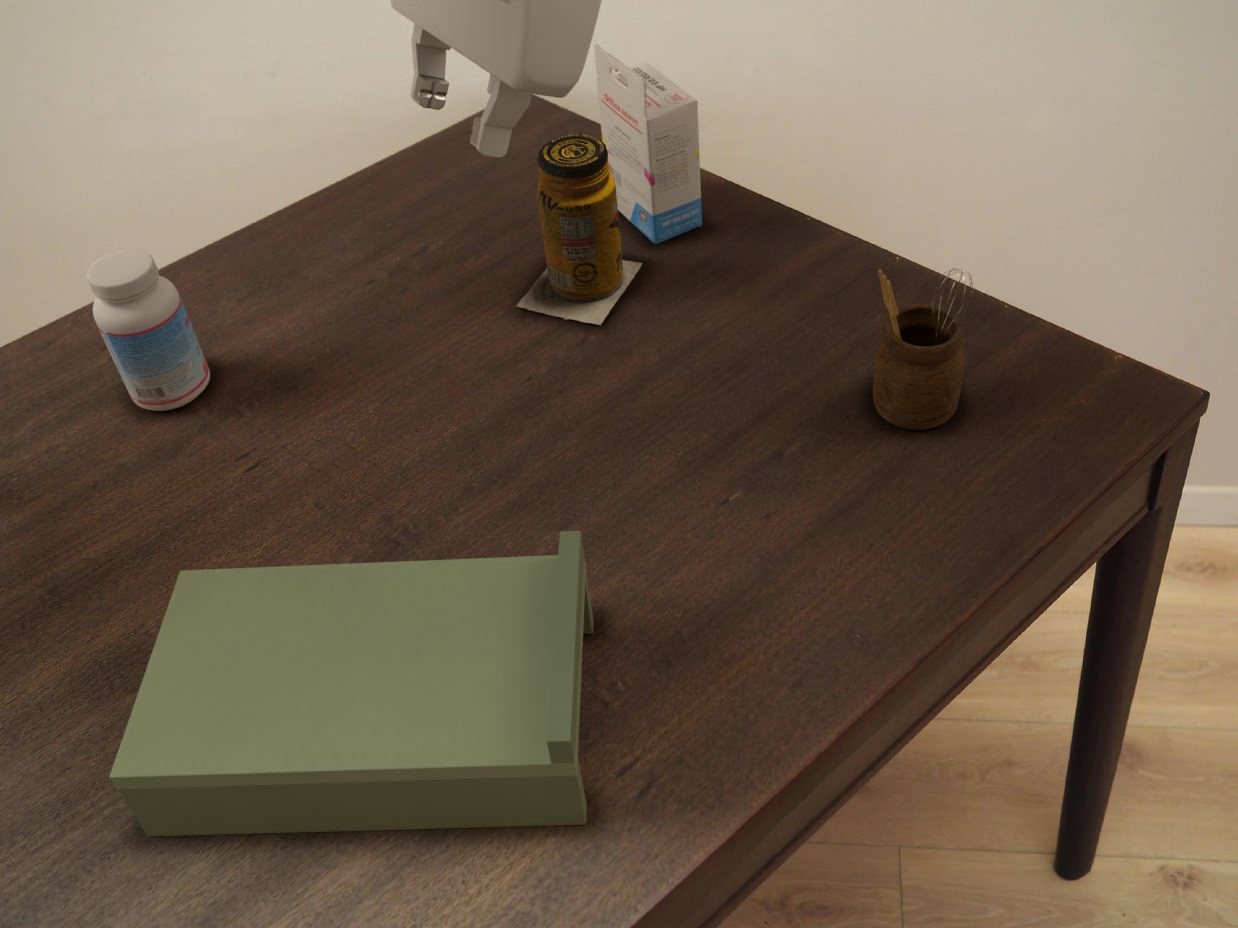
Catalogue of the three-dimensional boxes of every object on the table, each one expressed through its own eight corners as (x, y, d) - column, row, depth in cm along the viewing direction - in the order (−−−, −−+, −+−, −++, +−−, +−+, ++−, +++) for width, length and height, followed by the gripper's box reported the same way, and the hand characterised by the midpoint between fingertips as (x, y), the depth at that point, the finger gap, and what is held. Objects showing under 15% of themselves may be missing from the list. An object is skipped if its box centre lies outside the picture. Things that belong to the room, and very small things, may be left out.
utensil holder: (973, 420, 88) (996, 279, 79) (889, 443, 87) (903, 302, 78) (934, 369, 92) (952, 229, 83) (853, 390, 91) (863, 250, 82)
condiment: (642, 265, 104) (632, 133, 95) (600, 327, 98) (585, 193, 90) (562, 250, 106) (545, 120, 98) (516, 309, 101) (495, 177, 92)
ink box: (705, 226, 107) (699, 63, 97) (654, 246, 105) (643, 83, 95) (654, 182, 112) (643, 23, 102) (605, 201, 111) (589, 41, 101)
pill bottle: (228, 376, 97) (182, 254, 90) (170, 423, 94) (116, 302, 86) (173, 353, 100) (123, 233, 92) (114, 399, 96) (57, 278, 89)
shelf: (147, 836, 69) (94, 755, 64) (210, 632, 79) (168, 547, 74) (586, 825, 68) (570, 740, 62) (593, 618, 78) (580, 530, 72)
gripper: (388, -155, 77) (349, 74, 82) (533, -98, 62) (473, 177, 67) (482, -130, 80) (438, 88, 86) (641, -69, 65) (575, 189, 71)
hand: (455, 128), depth 77 cm, fingers open, 8 cm apart
